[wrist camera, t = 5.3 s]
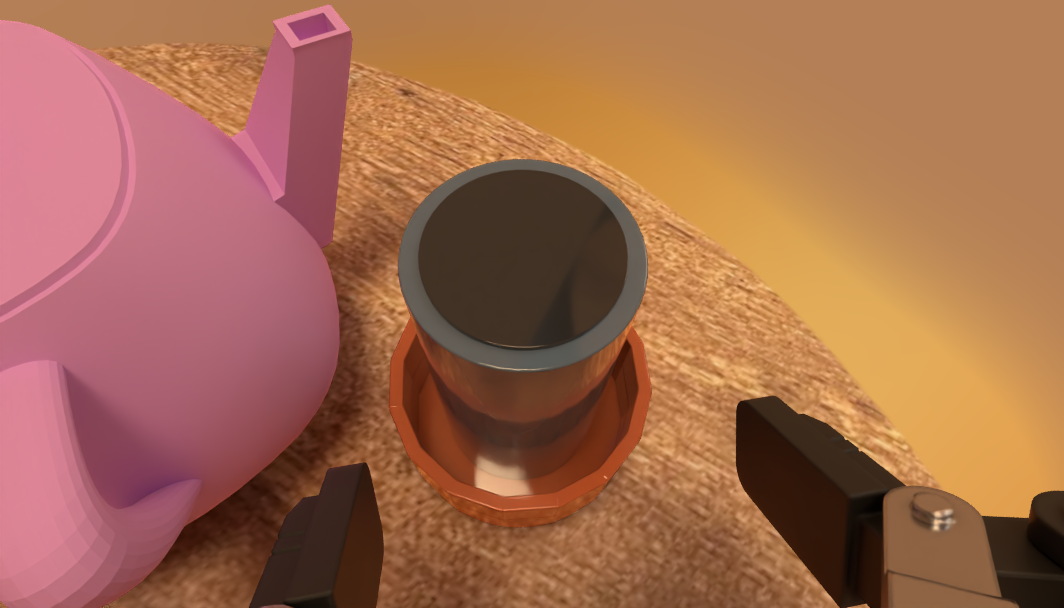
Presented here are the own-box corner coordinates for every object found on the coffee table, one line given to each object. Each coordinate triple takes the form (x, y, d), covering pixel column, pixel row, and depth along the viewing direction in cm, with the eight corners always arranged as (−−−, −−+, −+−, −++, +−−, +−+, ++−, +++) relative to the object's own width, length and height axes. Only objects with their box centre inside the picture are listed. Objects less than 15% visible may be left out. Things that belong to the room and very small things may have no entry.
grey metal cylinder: (425, 452, 24) (352, 322, 13) (477, 325, 26) (452, 130, 16) (567, 501, 23) (614, 405, 12) (606, 365, 26) (672, 189, 15)
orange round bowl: (372, 482, 24) (343, 457, 20) (457, 290, 28) (447, 237, 24) (596, 561, 23) (614, 551, 19) (649, 348, 27) (673, 302, 23)
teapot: (546, 414, 25) (584, 192, 12) (61, 773, 19) (-1009, 1164, 6) (325, 133, 32) (190, -208, 19) (-82, 331, 26) (-711, 38, 13)
